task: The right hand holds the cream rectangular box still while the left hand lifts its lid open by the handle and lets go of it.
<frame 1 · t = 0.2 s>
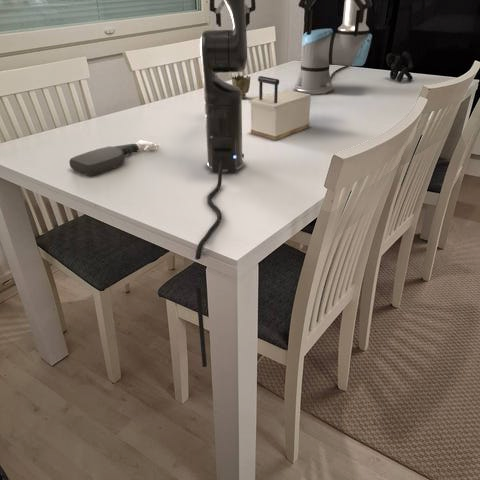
left hand: (233, 26, 142), 29 cm above the table, tool pointing down, fingers open, 8 cm apart
right hand: (332, 35, 130), 28 cm above the table, tool pointing down, fingers open, 13 cm apart
lid: (280, 87, 137), point 14 cm above the table, hinge at 0.0°
squiggle: (399, 80, 200), on the table
cup: (241, 98, 179), on the table
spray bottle: (117, 159, 125), on the table
cream rectangular box: (280, 130, 144), on the table
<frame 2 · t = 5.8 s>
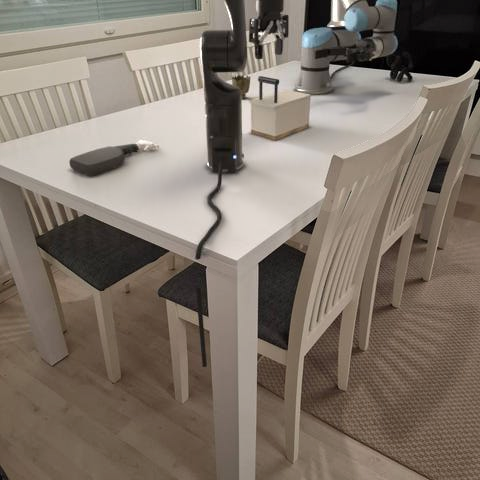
left hand: (268, 56, 128), 23 cm above the table, tool pointing down, fingers open, 8 cm apart
right hand: (331, 56, 152), 19 cm above the table, tool horizontal, fingers open, 13 cm apart
nothing on the table moved.
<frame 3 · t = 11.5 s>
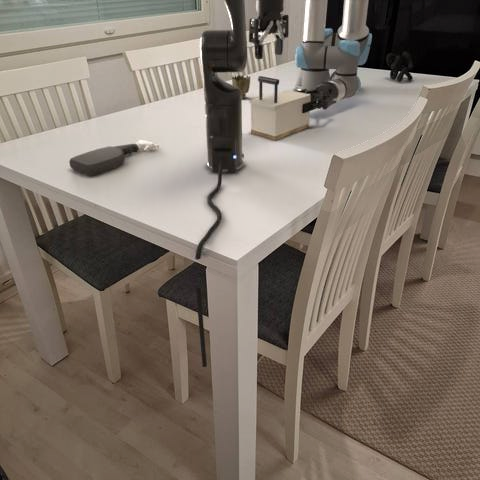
left hand: (268, 56, 128), 23 cm above the table, tool pointing down, fingers open, 8 cm apart
right hand: (289, 105, 143), 7 cm above the table, tool horizontal, fingers closed on cream rectangular box, 10 cm apart
cream rectangular box: (280, 130, 144), on the table, touching right hand
everything else where it was.
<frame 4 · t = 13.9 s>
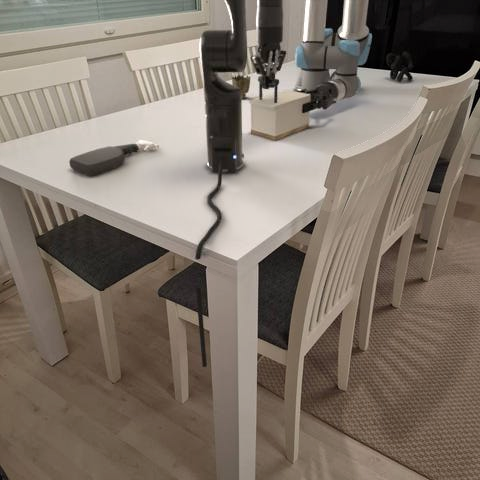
left hand: (268, 87, 133), 14 cm above the table, tool pointing down, fingers closed on lid
right hand: (289, 105, 143), 7 cm above the table, tool horizontal, fingers closed on cream rectangular box, 10 cm apart
lid: (280, 87, 137), point 14 cm above the table, hinge at 0.0°, touching left hand
cream rectangular box: (280, 130, 144), on the table, touching right hand
everything else where it was.
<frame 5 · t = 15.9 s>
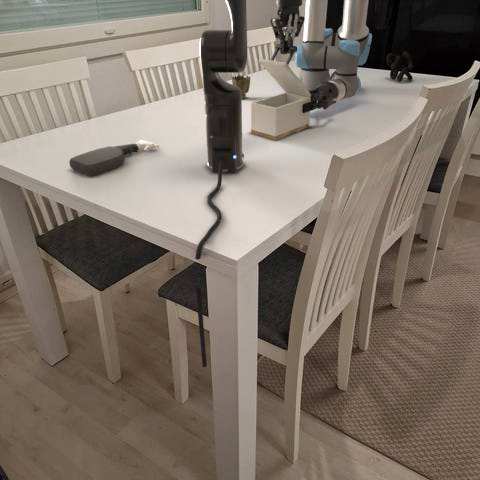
left hand: (286, 53, 133), 23 cm above the table, tool pointing down, fingers closed on lid
right hand: (289, 105, 143), 7 cm above the table, tool horizontal, fingers closed on cream rectangular box, 10 cm apart
lid: (290, 68, 137), point 18 cm above the table, hinge at 40.9°, touching left hand
cream rectangular box: (280, 130, 144), on the table, touching right hand
everything else where it was.
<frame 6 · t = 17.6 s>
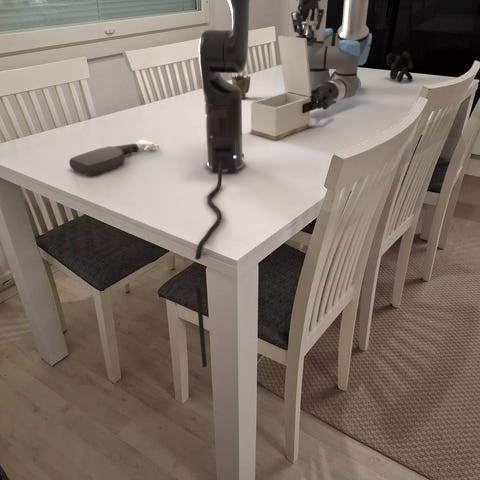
left hand: (306, 46, 138), 24 cm above the table, tool pointing down, fingers open, 3 cm apart
right hand: (289, 105, 143), 7 cm above the table, tool horizontal, fingers closed on cream rectangular box, 10 cm apart
lid: (301, 62, 140), point 19 cm above the table, hinge at 75.6°
cream rectangular box: (280, 130, 144), on the table, touching right hand
everything else where it was.
when the right hand's fingers open (7 cm above the table, at t = 21.6 s): cream rectangular box stays where it is, on the table.
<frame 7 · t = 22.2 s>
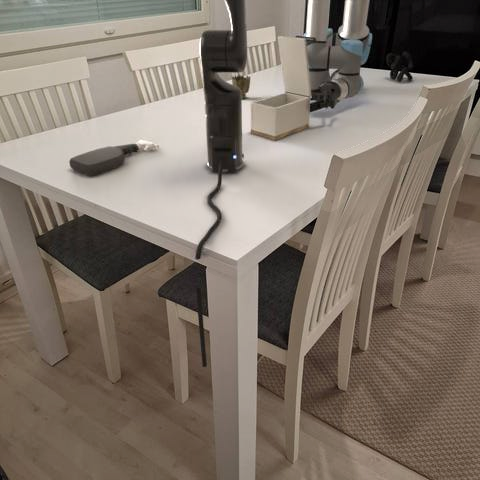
right hand: (293, 104, 145), 7 cm above the table, tool horizontal, fingers open, 13 cm apart
lid: (301, 62, 140), point 19 cm above the table, hinge at 75.0°
cream rectangular box: (280, 130, 144), on the table
everything else where it was.
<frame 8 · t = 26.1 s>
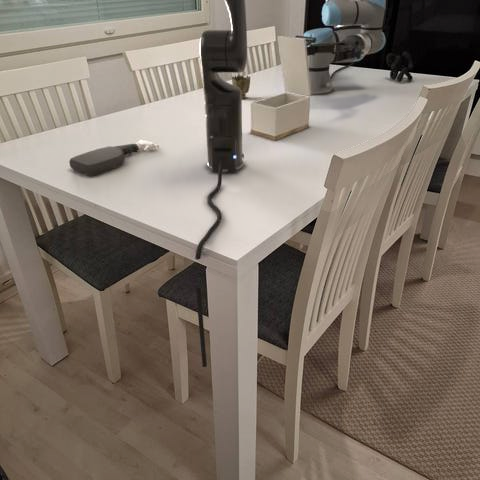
right hand: (319, 54, 145), 20 cm above the table, tool horizontal, fingers open, 13 cm apart
nothing on the table moved.
at the end: lid at +75° (first picture: +0°); the left hand is holding nothing; the right hand is holding nothing; cream rectangular box tilted 0°; cream rectangular box never tilted more than 1° during the clip; cream rectangular box moved 0.1 cm from its start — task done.
